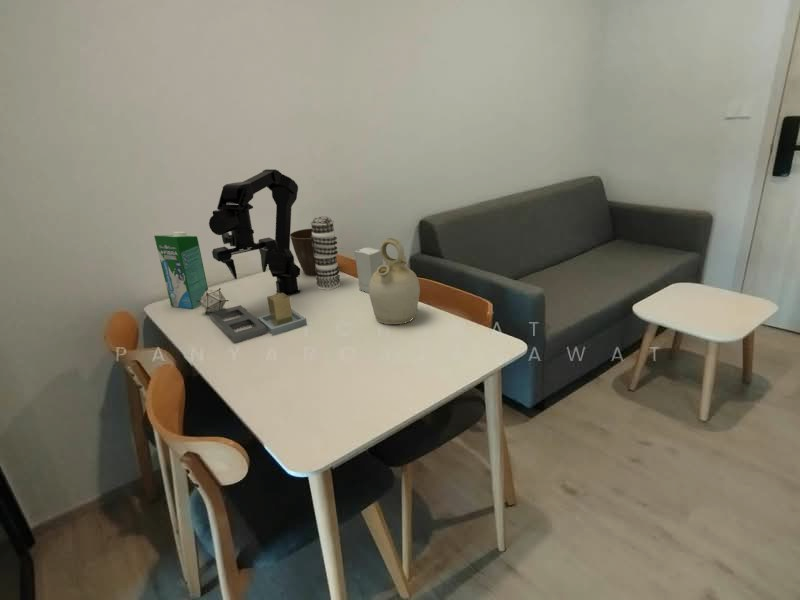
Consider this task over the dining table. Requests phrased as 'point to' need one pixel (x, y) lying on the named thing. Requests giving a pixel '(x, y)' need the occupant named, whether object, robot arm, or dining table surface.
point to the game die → (212, 300)
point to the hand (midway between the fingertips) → (250, 275)
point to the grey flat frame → (238, 324)
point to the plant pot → (304, 250)
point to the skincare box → (367, 265)
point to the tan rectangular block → (280, 309)
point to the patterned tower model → (325, 253)
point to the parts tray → (274, 330)
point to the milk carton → (182, 268)
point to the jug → (394, 288)
